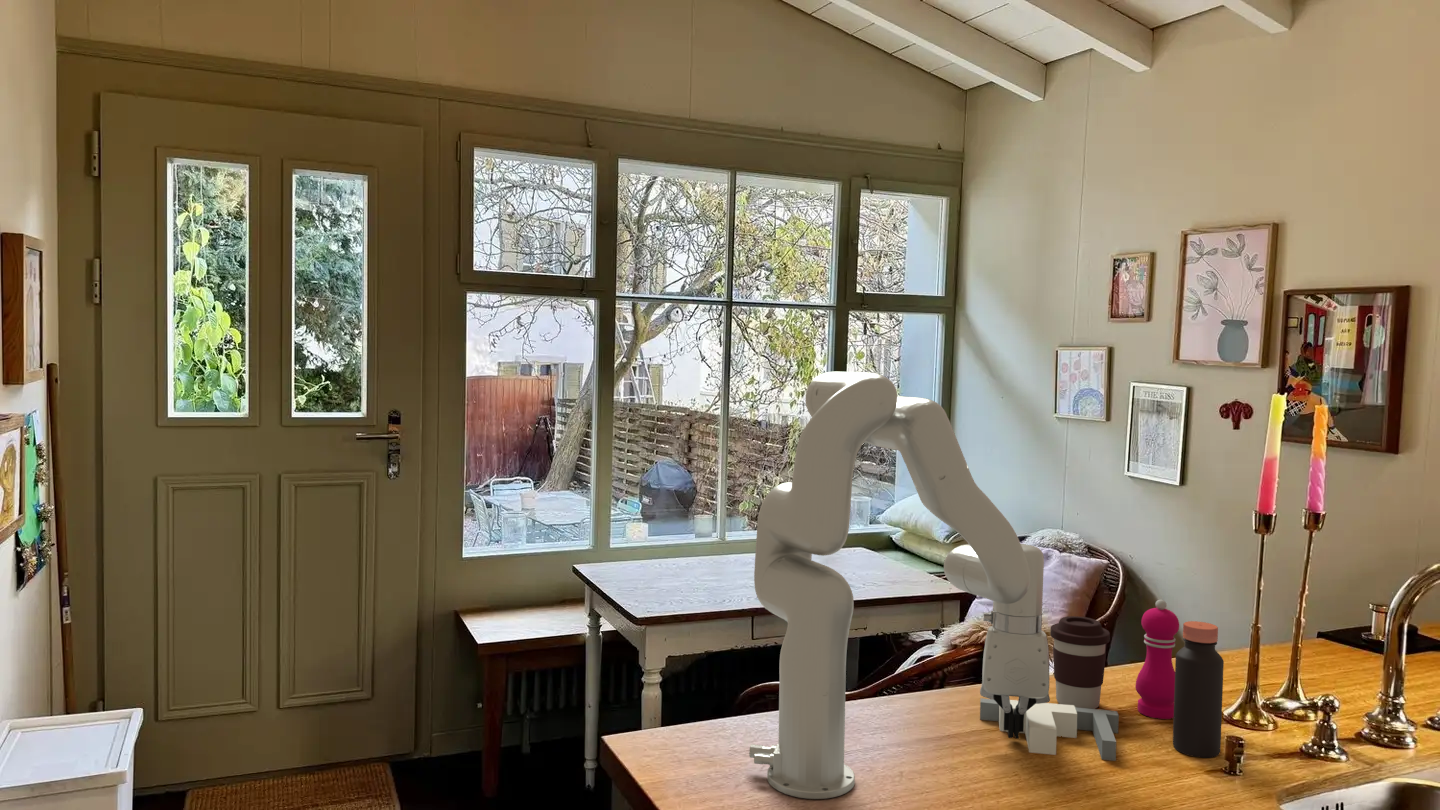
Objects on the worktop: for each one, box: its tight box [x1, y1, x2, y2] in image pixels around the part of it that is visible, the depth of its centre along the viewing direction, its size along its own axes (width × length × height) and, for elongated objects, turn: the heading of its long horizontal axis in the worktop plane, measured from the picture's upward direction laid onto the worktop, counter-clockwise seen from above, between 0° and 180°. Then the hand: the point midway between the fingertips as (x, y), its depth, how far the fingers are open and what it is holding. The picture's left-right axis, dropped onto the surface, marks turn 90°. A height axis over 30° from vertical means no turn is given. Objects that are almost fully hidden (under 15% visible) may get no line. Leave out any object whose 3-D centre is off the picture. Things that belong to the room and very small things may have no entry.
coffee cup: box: [1049, 615, 1111, 709], centre depth 175 cm, size 10×10×15 cm
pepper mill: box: [1135, 599, 1180, 720], centre depth 170 cm, size 7×7×20 cm
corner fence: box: [979, 697, 1120, 762], centre depth 159 cm, size 22×14×3 cm, turn 76°
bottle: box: [1172, 620, 1225, 759], centre depth 154 cm, size 7×7×20 cm
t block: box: [998, 699, 1078, 756], centre depth 158 cm, size 12×12×4 cm
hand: (1013, 735), depth 157 cm, fingers closed
